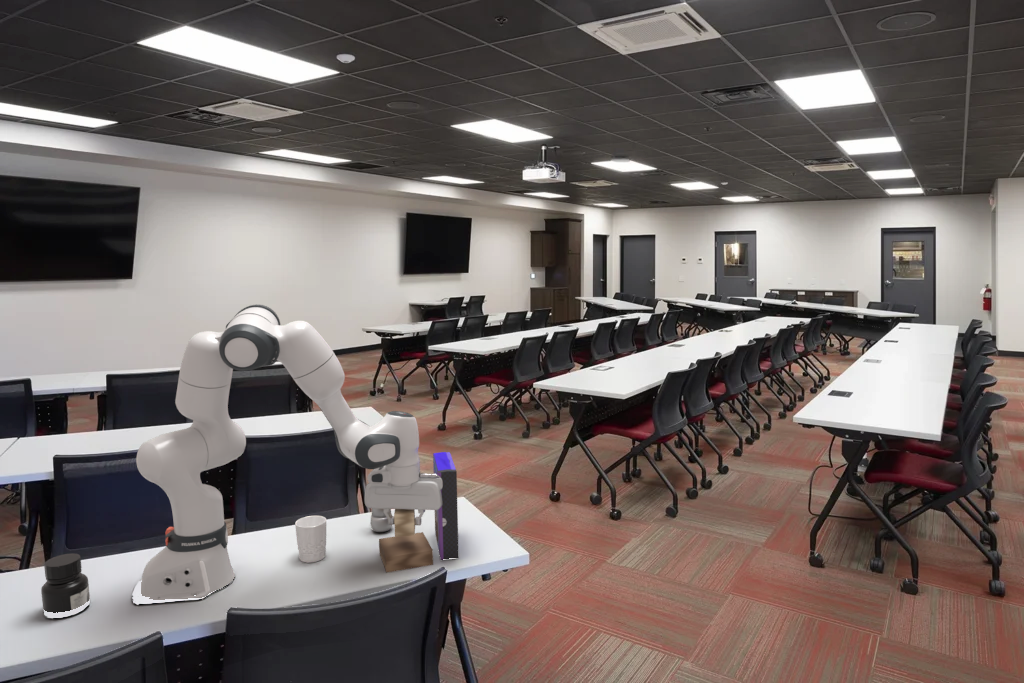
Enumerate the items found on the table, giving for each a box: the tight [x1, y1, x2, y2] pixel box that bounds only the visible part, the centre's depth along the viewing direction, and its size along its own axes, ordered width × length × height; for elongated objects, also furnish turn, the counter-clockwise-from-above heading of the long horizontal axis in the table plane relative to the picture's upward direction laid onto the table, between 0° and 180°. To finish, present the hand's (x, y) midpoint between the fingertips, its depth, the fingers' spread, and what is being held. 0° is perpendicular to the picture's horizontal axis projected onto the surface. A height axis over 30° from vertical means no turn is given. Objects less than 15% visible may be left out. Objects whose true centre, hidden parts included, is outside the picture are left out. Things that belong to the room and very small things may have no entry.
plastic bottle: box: [370, 469, 393, 533], centre depth 192 cm, size 6×7×20 cm
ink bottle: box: [41, 553, 91, 613], centre depth 150 cm, size 10×9×12 cm
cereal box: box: [432, 451, 460, 561], centre depth 181 cm, size 17×5×24 cm, turn 11°
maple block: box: [393, 509, 416, 537], centre depth 173 cm, size 5×5×6 cm
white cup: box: [294, 515, 327, 563], centre depth 176 cm, size 8×8×10 cm
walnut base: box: [378, 531, 434, 573], centre depth 174 cm, size 12×12×4 cm
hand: (404, 524), depth 173 cm, fingers closed on maple block, 6 cm apart
